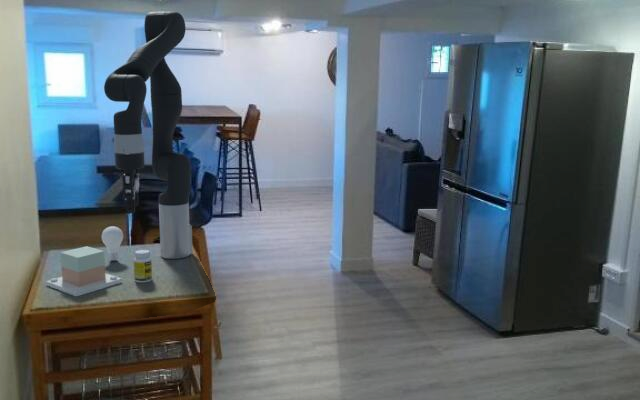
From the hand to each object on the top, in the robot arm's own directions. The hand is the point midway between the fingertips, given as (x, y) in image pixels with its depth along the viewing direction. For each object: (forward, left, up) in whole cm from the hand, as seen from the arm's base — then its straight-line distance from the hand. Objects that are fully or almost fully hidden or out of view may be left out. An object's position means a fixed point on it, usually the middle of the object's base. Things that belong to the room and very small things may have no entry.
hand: (132, 209), depth 165 cm
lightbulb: (-8, -21, -21) cm, 30 cm away
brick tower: (+10, -9, -21) cm, 25 cm away
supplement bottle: (-2, +1, -21) cm, 21 cm away
